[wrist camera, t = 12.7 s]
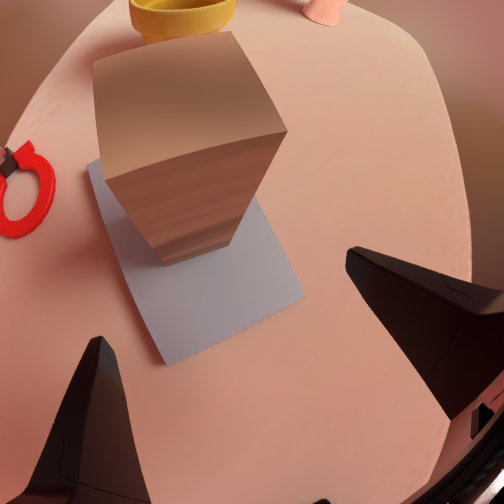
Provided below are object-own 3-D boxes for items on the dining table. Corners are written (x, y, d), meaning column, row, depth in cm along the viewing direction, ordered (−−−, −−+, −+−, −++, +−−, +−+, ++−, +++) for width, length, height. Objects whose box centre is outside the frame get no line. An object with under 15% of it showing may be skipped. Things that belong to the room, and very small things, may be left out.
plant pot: (164, 28, 27) (164, -30, 17) (237, 44, 28) (252, -18, 19) (120, 75, 24) (106, 8, 15) (203, 94, 26) (211, 19, 16)
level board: (300, 296, 23) (305, 295, 22) (168, 363, 20) (167, 366, 19) (209, 122, 25) (209, 114, 24) (90, 170, 22) (86, 164, 21)
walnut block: (228, 245, 22) (287, 130, 7) (166, 266, 21) (104, 180, 6) (207, 187, 22) (230, 31, 8) (148, 206, 21) (92, 61, 7)
